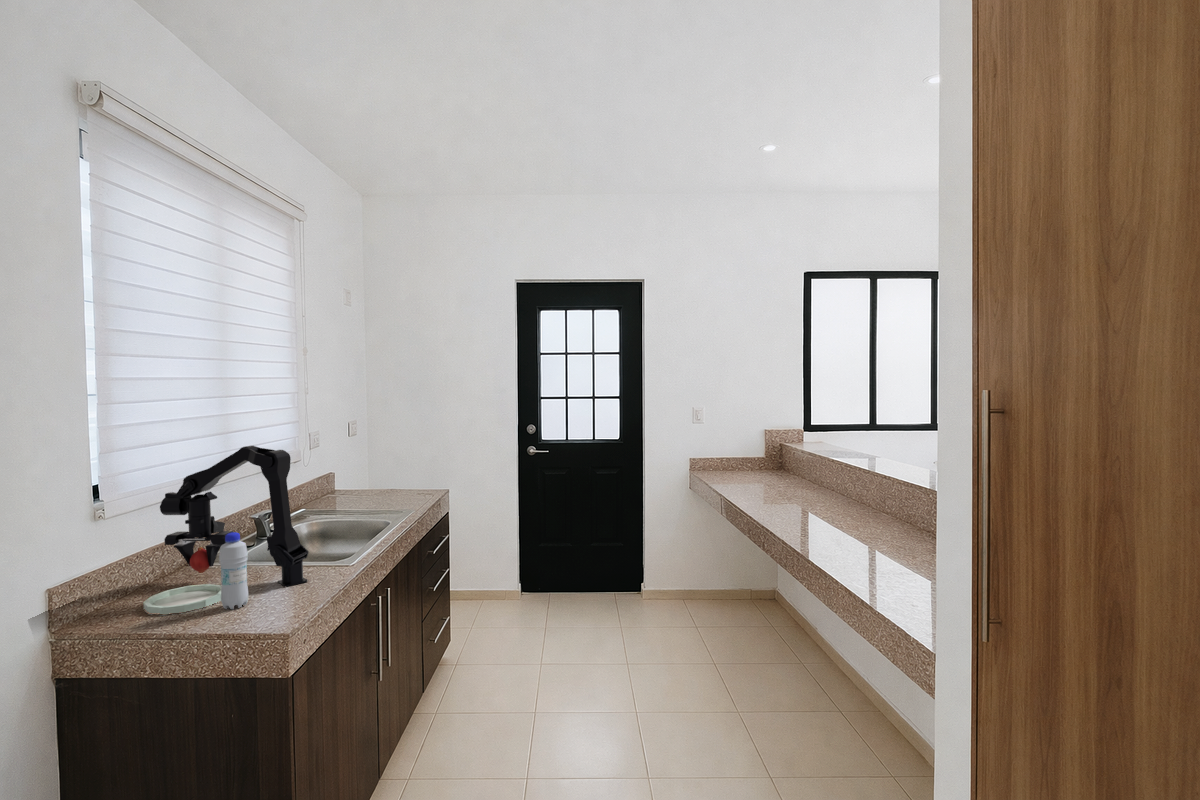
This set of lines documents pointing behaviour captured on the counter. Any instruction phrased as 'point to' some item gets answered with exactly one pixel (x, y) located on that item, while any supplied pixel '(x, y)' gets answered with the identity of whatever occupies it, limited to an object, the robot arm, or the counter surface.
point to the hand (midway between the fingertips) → (201, 566)
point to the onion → (199, 560)
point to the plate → (183, 599)
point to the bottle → (233, 571)
